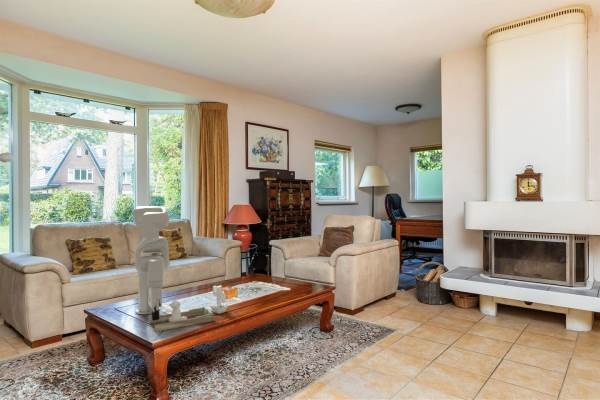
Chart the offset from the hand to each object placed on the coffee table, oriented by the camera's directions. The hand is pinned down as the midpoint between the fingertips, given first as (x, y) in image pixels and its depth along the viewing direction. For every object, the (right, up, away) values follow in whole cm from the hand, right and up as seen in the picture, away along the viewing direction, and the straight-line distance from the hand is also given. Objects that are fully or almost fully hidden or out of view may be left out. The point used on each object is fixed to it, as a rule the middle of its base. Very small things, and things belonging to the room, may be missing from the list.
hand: (155, 319), depth 186 cm
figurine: (+27, -4, +24) cm, 36 cm away
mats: (+1, -4, +1) cm, 4 cm away
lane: (+10, -4, +7) cm, 13 cm away
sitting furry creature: (+9, -4, +6) cm, 11 cm away
